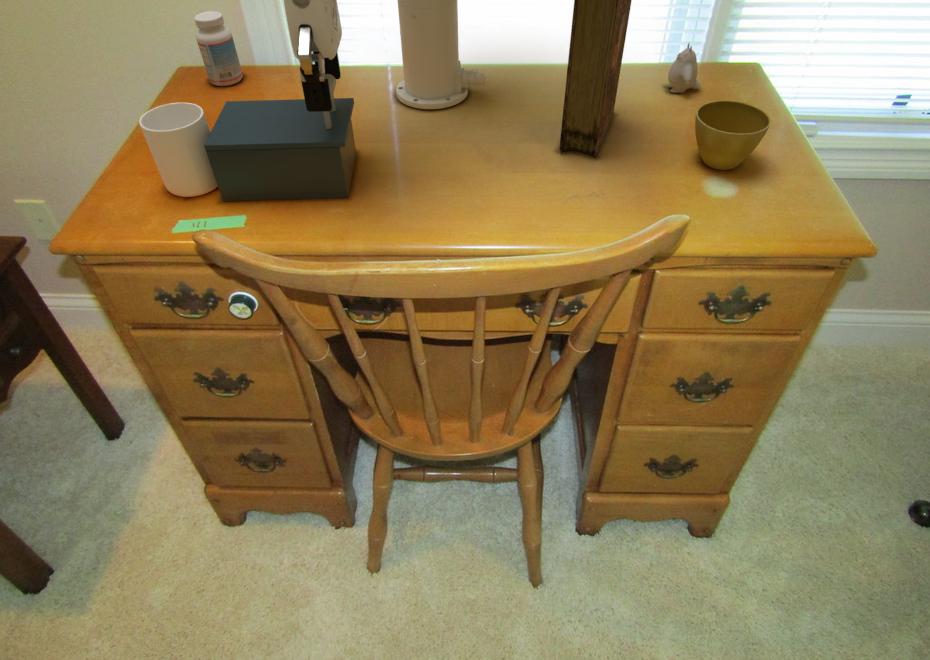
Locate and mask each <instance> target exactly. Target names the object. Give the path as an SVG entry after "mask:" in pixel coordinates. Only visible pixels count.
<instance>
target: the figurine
mask: <svg viewBox="0 0 930 660" xmlns="http://www.w3.org/2000/svg"><path fill="white" fill-rule="evenodd" d="M697 60H698V59H697V54H696V52H695V51H694V50H693V47H692V46H690V42H688V43H687V46H686V48H685V49H683V51H681V52H679V53H678V54H677V56H676V59H675V60H674V61H673V62H672V64H671V66H670V67H669V70H668V74H667V80H668V85H667V86H666V88H670V89H669V90H668V92H669V93H675V94H676V93H678V94H682V93H685V92H686V91H688V90H689V89H692V90H698V89H700V87H701V82H700V81H698V80H697V79H698V78H697V77H698V72H699V71H698V61H697Z"/></svg>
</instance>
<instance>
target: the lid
mask: <svg viewBox="0 0 930 660" xmlns="http://www.w3.org/2000/svg"><path fill="white" fill-rule="evenodd" d="M325 79H328V83H329V89H330V96H331V102H332V110H331V111H322V112H309V111H307V109H306V103H305V98H303V99H301V98H300V99H297V98H296V99H267V100H266V99H264V100H263V99H262V100H227V101H225V103H224V104H223V107H222V109H221V111H220V112H219V115H218V116H217V118H216V120H215V123H214V124H213V126H212V128H211V129H210V134H209V136H208V138H207V140H206V142H205V144H204V148H205V150H206V151H212V150H248V149H284V148H319V147H345V146H346V141H347V136H348V131H349V126H350V121H351V122H352V115H353V112H354V107H355V106H354V105H355V100H354V97H341V98H340V97H339V98H338V97H337V98H335V95H334V93H335V89H336V85H337V79H335V77H334V76H332V75H330V74H325Z"/></svg>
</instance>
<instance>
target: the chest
mask: <svg viewBox="0 0 930 660" xmlns="http://www.w3.org/2000/svg"><path fill="white" fill-rule="evenodd" d="M206 153H207V156H208V159H209V162H210V165H211V168H212V171H213V174H214V177H215V180H216V183H217V186H218V187H217V188H218V192H219V194H220V198H221V201H222V202H244V201H279V200H310V199H311V200H313V199H346V198H347V199H348V198H349V194H350V188H351V183H352V177H353V173H354V172H353V171H354V166H355V160H356V155H357V149H356V143H355V136H354V130H353V123H352V120H351V121H350V126H349V131H348V136H347V141H346V146H345V147H319V148H284V149H248V150H212V151H206Z"/></svg>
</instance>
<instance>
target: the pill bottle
mask: <svg viewBox="0 0 930 660" xmlns="http://www.w3.org/2000/svg"><path fill="white" fill-rule="evenodd" d="M193 20H194V23H195V26H196V27H197V29H198V30H197V31H196V33H195V40H196V42H197V46H198V49H199V52H200V56H201V58H202V62H203V65H204V68H205V70H206V74H207V77H208V80H209V82H210V83H211V84H212V85H214V86H218V87H227V86H232V85H236V84H238V83H240V81H242V79H243V78H244V77H243V76H244V74H243V70H242V67H241V62H240V58H239V56H238V52H237V47H236V44H235V41H234V38H233V37H234V36H233V34H232V31H231V29H230V28H229V27H228V26H226V25H224V24H225V20H224V17H223V13H221V12H220V11H216V10H210V11H204V12H200V13H197V14H196V15H195V16H194V19H193Z"/></svg>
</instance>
